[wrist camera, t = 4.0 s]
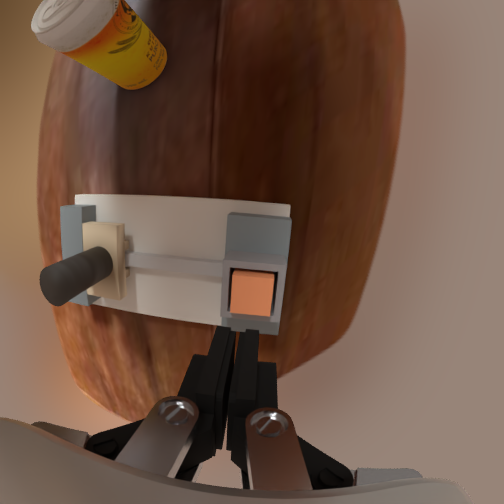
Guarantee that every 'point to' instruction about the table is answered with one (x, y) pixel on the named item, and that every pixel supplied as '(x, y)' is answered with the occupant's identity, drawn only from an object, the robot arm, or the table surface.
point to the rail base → (187, 253)
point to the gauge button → (252, 291)
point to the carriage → (90, 266)
